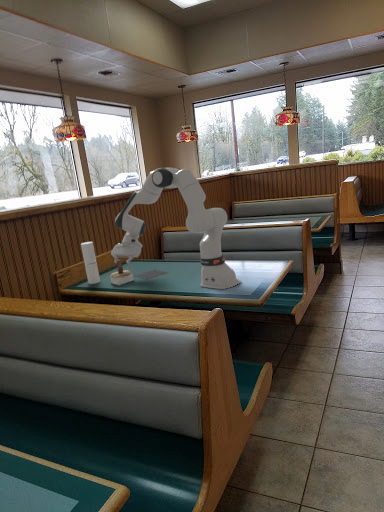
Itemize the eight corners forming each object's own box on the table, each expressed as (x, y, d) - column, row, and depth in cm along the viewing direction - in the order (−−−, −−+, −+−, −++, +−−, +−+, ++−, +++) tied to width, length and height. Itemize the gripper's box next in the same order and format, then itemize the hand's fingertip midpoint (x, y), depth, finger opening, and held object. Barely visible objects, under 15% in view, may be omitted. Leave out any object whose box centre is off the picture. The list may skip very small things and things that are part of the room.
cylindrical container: (98, 283, 234) (90, 243, 228) (87, 284, 234) (79, 244, 228) (101, 279, 240) (94, 241, 235) (90, 281, 241) (82, 242, 235)
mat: (168, 273, 235) (168, 272, 235) (146, 280, 226) (146, 279, 225) (154, 270, 247) (154, 269, 247) (133, 276, 238) (133, 276, 238)
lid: (134, 273, 227) (132, 258, 225) (117, 279, 220) (114, 263, 218) (125, 271, 236) (122, 256, 234) (107, 276, 229) (104, 261, 227)
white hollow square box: (133, 280, 228) (132, 273, 227) (118, 285, 222) (117, 278, 221) (125, 278, 236) (124, 271, 235) (111, 283, 230) (109, 275, 229)
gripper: (113, 240, 237) (105, 260, 231) (139, 240, 226) (131, 260, 220) (119, 246, 242) (111, 265, 236) (144, 245, 231) (137, 265, 225)
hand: (121, 262), depth 228 cm, fingers open, 8 cm apart
